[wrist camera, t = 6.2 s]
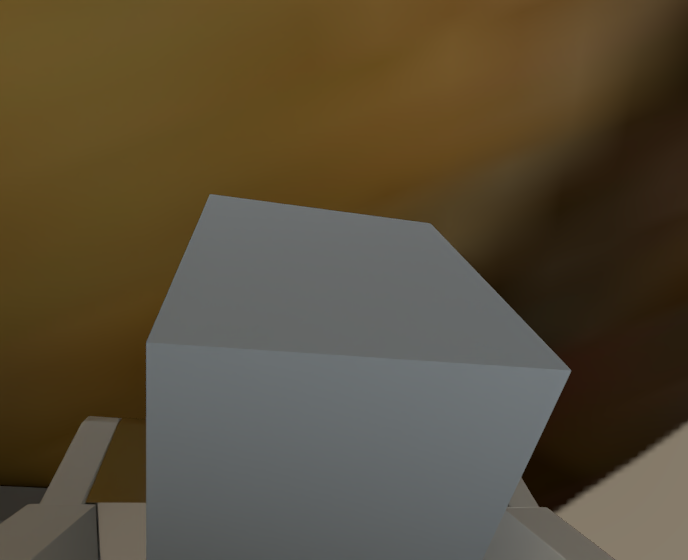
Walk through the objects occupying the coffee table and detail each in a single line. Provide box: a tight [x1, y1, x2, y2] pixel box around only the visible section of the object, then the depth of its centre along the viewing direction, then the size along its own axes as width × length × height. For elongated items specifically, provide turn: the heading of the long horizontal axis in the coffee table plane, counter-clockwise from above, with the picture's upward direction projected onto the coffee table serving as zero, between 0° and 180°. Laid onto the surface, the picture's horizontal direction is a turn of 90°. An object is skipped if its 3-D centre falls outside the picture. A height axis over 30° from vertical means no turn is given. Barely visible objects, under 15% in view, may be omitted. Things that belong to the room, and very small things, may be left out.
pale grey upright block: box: [146, 194, 571, 560], centre depth 8 cm, size 8×4×4 cm, turn 170°
